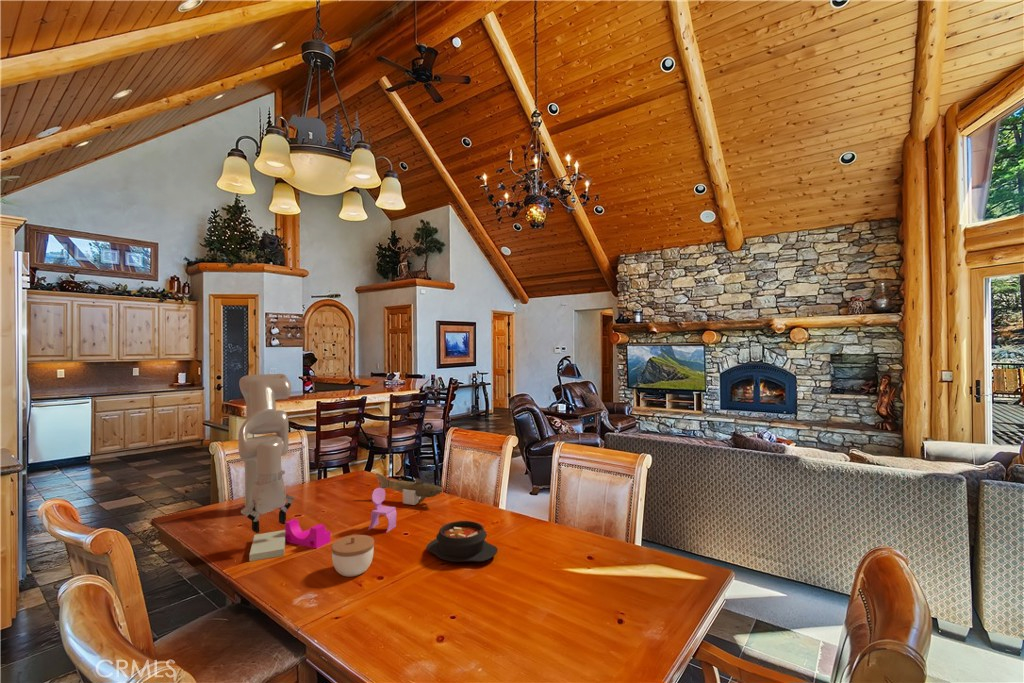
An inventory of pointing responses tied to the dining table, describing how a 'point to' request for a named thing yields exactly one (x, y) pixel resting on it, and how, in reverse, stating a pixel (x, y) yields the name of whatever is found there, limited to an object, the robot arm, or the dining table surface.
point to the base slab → (267, 545)
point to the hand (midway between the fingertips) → (269, 527)
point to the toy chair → (382, 510)
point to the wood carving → (410, 489)
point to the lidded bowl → (352, 554)
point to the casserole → (462, 543)
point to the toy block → (306, 535)
